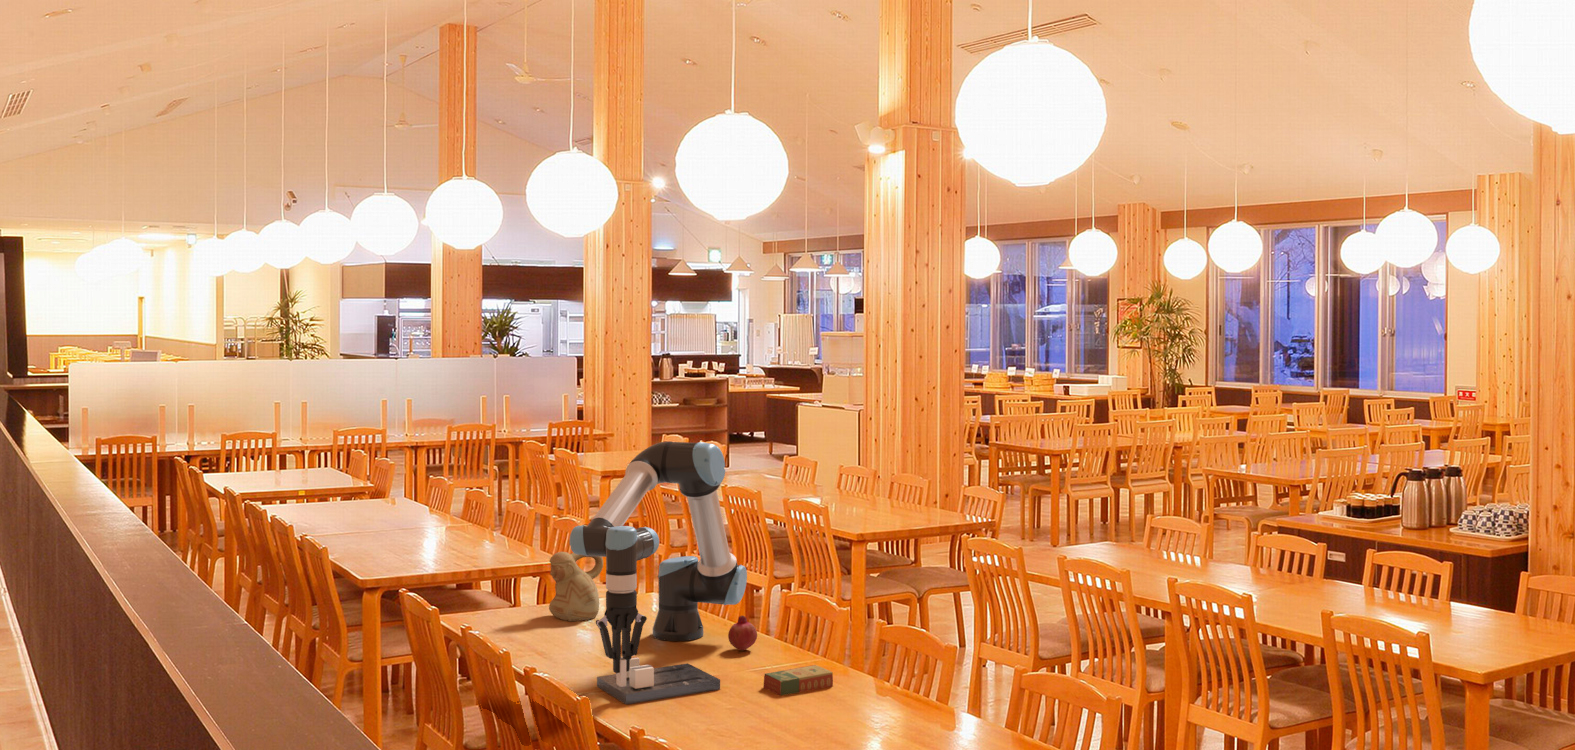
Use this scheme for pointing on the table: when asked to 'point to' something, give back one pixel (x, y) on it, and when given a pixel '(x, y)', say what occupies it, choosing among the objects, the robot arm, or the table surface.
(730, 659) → the table surface
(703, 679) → the console
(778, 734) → the table surface
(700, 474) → the robot arm
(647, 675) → the fader grey
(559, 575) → the ceramic vessel
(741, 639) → the fruit
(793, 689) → the carton
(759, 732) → the table surface
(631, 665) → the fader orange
